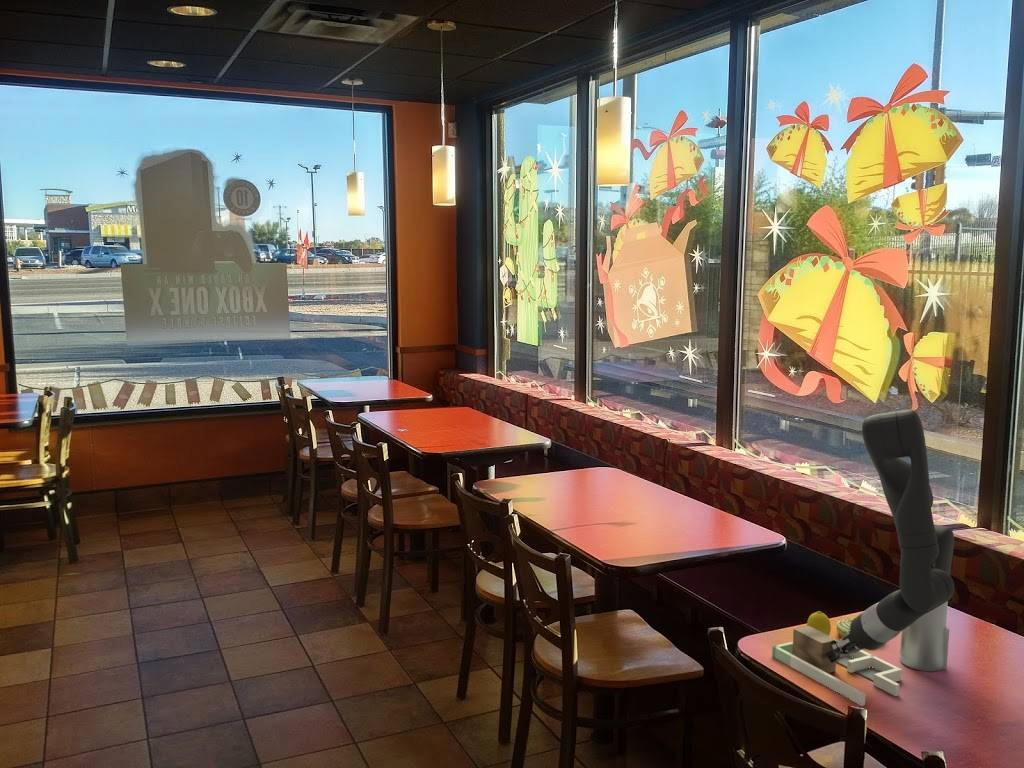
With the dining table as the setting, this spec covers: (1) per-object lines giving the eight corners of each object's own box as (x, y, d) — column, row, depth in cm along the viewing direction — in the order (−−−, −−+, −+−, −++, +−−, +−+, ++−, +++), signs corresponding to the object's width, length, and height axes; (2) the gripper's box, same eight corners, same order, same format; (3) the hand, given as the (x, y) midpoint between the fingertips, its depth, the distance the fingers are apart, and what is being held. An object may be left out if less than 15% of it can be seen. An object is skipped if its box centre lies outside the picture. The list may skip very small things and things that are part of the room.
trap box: (920, 689, 196) (920, 678, 196) (861, 706, 189) (862, 694, 188) (846, 652, 215) (846, 642, 215) (790, 666, 207) (790, 655, 207)
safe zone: (825, 657, 212) (826, 647, 212) (790, 666, 207) (790, 655, 207) (807, 648, 218) (807, 638, 217) (772, 656, 213) (772, 646, 212)
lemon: (831, 648, 218) (833, 616, 217) (807, 646, 219) (809, 614, 218) (828, 639, 223) (829, 608, 222) (804, 637, 224) (806, 606, 223)
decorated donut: (865, 650, 217) (865, 635, 216) (827, 635, 226) (827, 621, 225) (890, 640, 223) (891, 626, 222) (852, 626, 231) (853, 612, 231)
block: (835, 671, 205) (837, 639, 204) (820, 675, 203) (822, 643, 202) (806, 655, 213) (808, 625, 212) (792, 659, 211) (793, 628, 210)
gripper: (890, 604, 196) (844, 637, 208) (845, 614, 190) (801, 648, 202) (909, 636, 192) (861, 668, 204) (864, 647, 186) (817, 679, 198)
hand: (831, 658), depth 203 cm, fingers closed
